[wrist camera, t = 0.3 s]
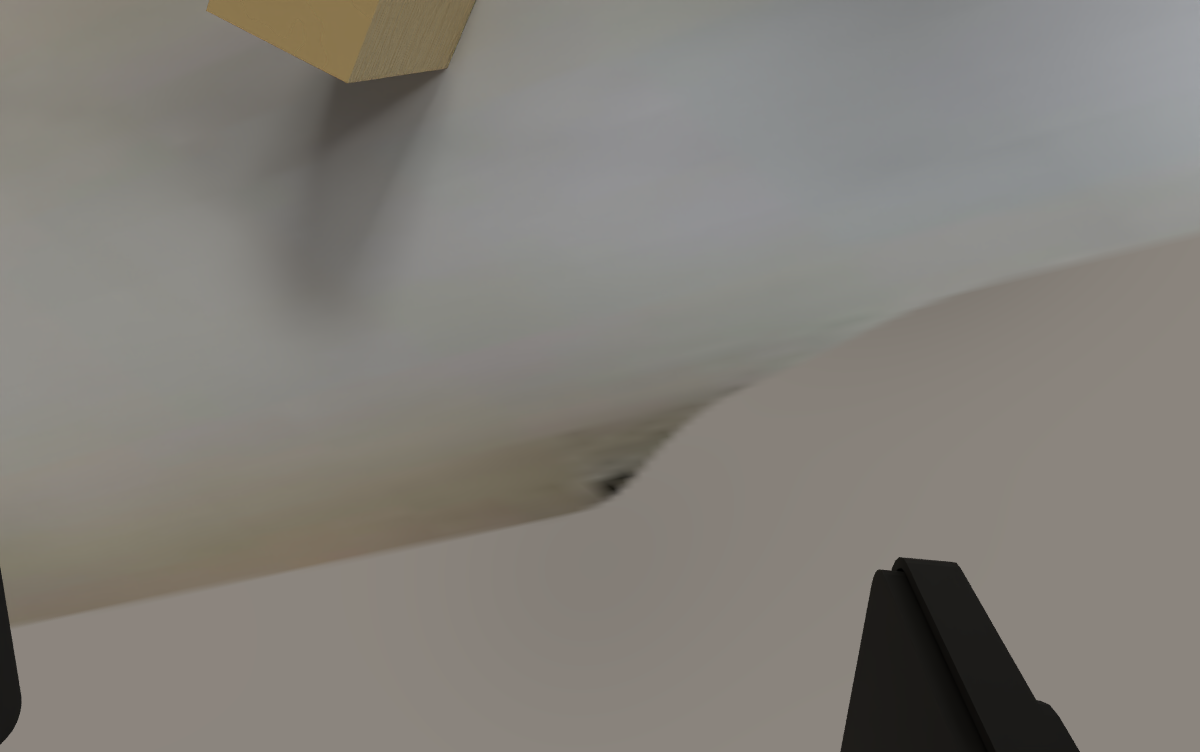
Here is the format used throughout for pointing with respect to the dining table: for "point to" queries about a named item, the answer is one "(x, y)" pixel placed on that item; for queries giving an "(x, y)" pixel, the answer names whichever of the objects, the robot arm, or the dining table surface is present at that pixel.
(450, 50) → the wooden square peg
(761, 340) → the dining table surface
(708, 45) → the dining table surface
